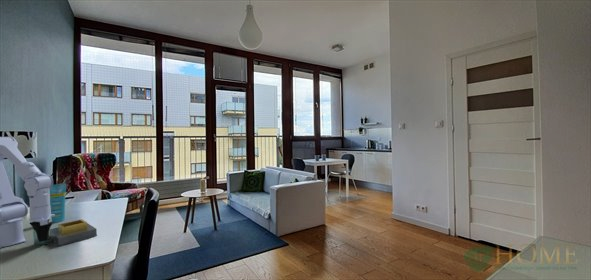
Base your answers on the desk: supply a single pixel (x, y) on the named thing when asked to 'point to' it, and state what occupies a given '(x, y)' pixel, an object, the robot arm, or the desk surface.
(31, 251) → the desk surface
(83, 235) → the grey and yellow block
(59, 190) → the tube
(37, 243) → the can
